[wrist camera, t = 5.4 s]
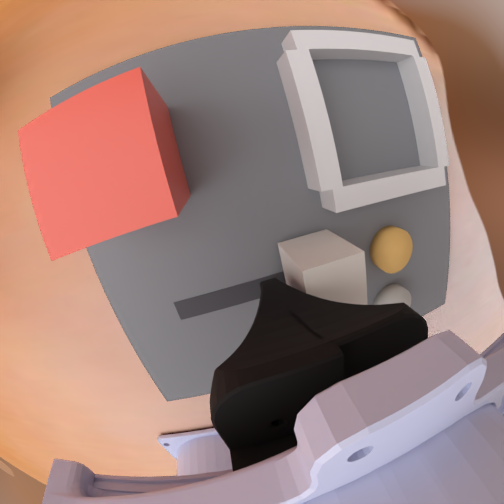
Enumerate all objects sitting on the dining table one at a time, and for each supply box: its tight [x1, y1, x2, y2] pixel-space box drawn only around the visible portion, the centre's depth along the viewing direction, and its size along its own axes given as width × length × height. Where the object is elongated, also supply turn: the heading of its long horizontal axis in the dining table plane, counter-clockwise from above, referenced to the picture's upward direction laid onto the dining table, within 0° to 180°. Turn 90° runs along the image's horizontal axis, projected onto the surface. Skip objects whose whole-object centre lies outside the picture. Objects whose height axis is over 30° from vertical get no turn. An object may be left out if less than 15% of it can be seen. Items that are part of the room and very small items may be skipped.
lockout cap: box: [18, 67, 191, 261], centre depth 8 cm, size 4×4×5 cm
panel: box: [50, 26, 450, 401], centre depth 12 cm, size 18×20×3 cm
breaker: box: [277, 229, 368, 305], centre depth 11 cm, size 4×2×3 cm, turn 14°
